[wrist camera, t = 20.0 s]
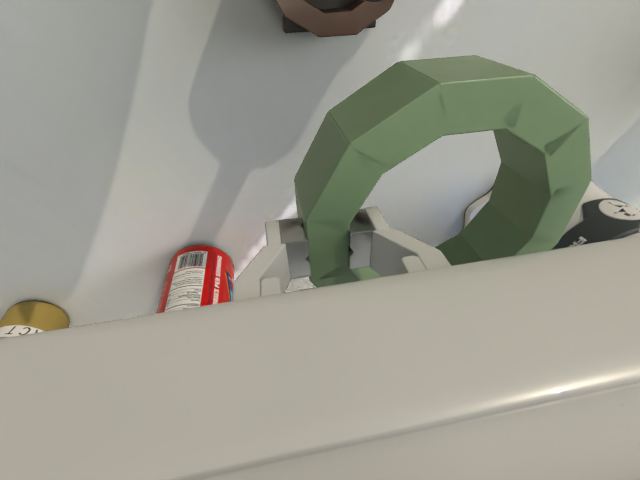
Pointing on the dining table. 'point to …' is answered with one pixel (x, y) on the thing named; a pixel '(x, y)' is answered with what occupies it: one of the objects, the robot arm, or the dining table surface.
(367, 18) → the walnut ring
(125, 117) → the dining table surface
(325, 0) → the rack post
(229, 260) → the soda can
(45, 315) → the paper tube
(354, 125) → the green ring
